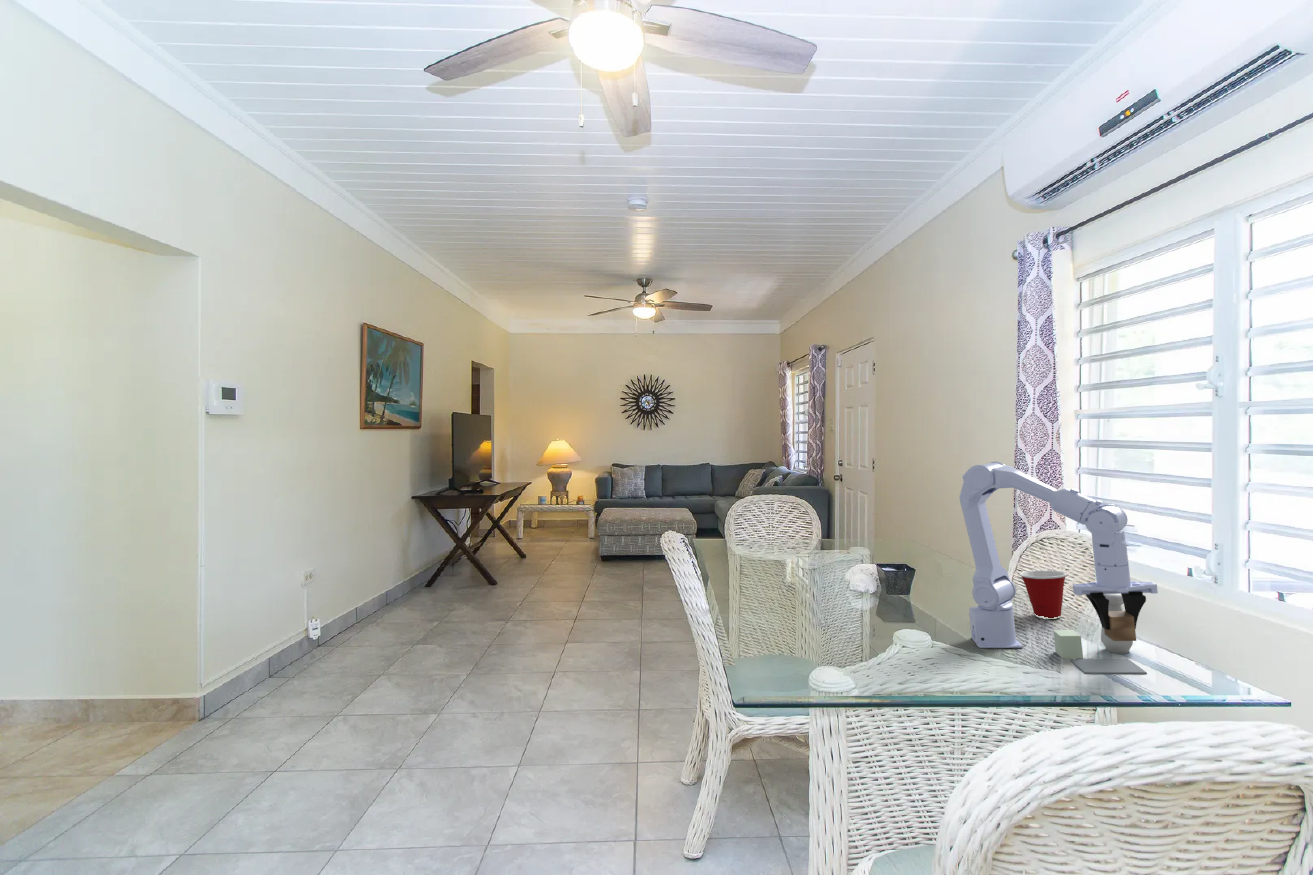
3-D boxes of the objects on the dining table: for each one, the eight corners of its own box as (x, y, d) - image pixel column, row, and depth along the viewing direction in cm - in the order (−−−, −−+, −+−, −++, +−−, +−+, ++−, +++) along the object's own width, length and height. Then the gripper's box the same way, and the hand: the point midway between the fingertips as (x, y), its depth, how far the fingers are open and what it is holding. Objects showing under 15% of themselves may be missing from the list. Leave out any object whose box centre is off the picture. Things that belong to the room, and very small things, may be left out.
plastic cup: (1058, 609, 164) (1053, 566, 164) (1080, 621, 153) (1075, 575, 153) (1016, 611, 165) (1011, 569, 165) (1035, 623, 154) (1030, 578, 155)
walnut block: (1113, 640, 123) (1111, 616, 123) (1104, 634, 126) (1102, 611, 126) (1136, 640, 121) (1133, 616, 121) (1126, 634, 125) (1124, 610, 125)
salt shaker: (1139, 654, 130) (1133, 595, 130) (1110, 655, 131) (1104, 597, 131) (1124, 645, 135) (1118, 588, 135) (1096, 646, 136) (1090, 590, 137)
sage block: (1062, 658, 132) (1060, 636, 132) (1055, 651, 136) (1053, 630, 136) (1083, 658, 131) (1080, 635, 131) (1075, 651, 135) (1073, 629, 135)
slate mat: (1084, 673, 123) (1084, 672, 123) (1070, 660, 130) (1069, 658, 130) (1146, 673, 120) (1146, 672, 120) (1128, 659, 128) (1127, 658, 128)
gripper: (1079, 569, 122) (1087, 634, 122) (1162, 566, 119) (1170, 633, 118) (1066, 561, 129) (1073, 623, 129) (1144, 558, 125) (1151, 622, 125)
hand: (1118, 627), depth 124 cm, fingers closed on walnut block, 4 cm apart
